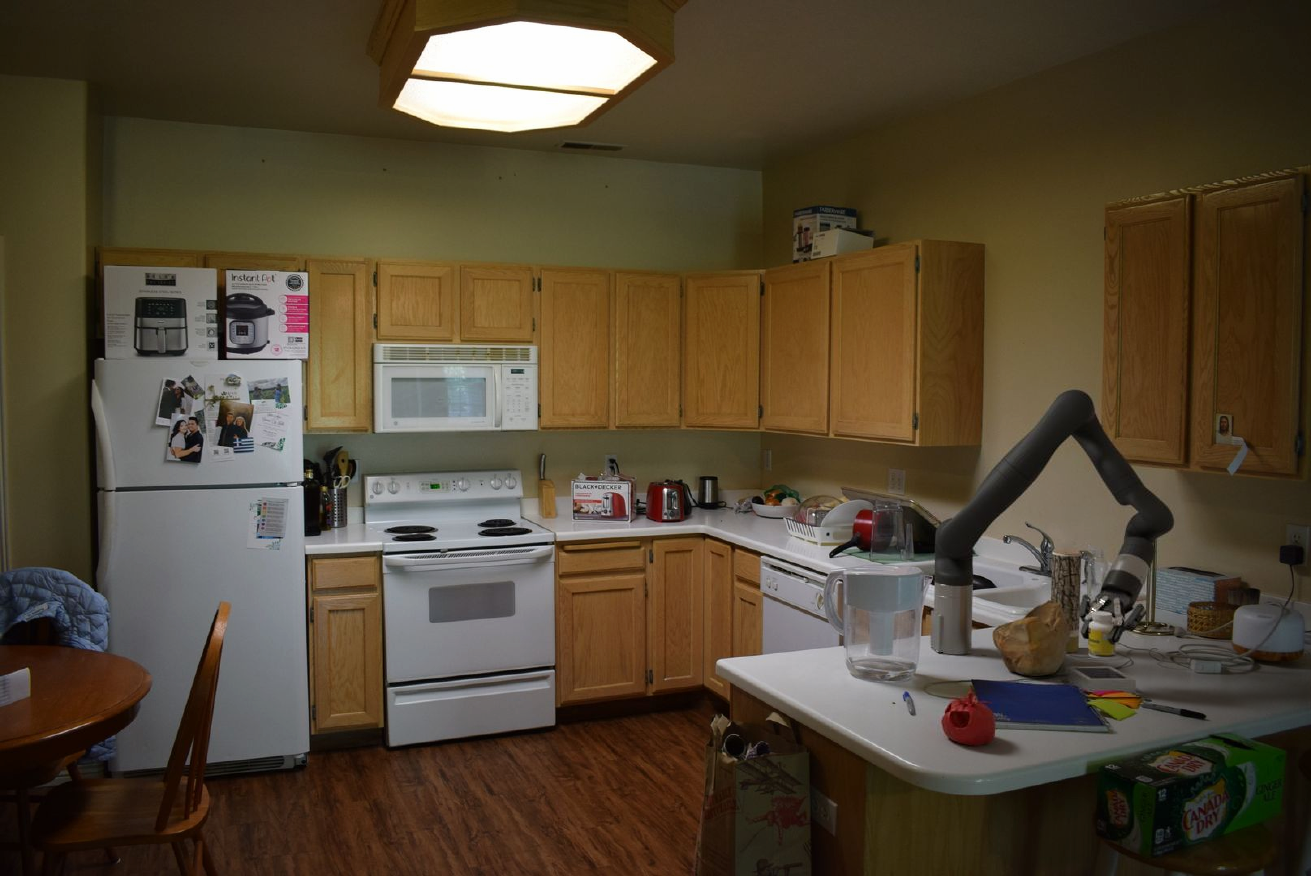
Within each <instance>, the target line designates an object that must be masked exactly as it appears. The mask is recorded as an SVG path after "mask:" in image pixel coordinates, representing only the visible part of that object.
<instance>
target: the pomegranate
mask: <svg viewBox="0 0 1311 876" xmlns="http://www.w3.org/2000/svg"><path fill="white" fill-rule="evenodd" d="M960 697H962V698H963V699H961V698H959V697H957V696H956V697H954V696H953V697H951V699H954V700H952V701H950V702H949V704H947V706H946V708H945V709H944V715H943V716H942V717H941V721H940V723H941V727H942V730H943V733H944V735H945V736H946V737H948V739H950V740H952V741H954V742H956V743H958V744H961V745H962V744H963V745H967V746H974V747H975V746H977V745H979V746H981V745H986V744H990V743H991V742H992V741H993V740H994V739H995V736H996V715H995V714H994V712H993V711H992V709H991V708H989V707H988V706H987V705H986V704H993V703H994V702H989V701H986V700H984V701H983V700H982V701H975V699H976V698H979V697H978V696H977V695H976V694H975V695H974V691H972V690H969V691H968V692H967V697H966V696H965V695H964V694H961V695H960ZM984 703H986V704H984ZM980 744H981V745H980ZM977 747H978V746H977Z"/></svg>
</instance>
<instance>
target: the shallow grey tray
mask: <svg viewBox="0 0 1311 876" xmlns="http://www.w3.org/2000/svg"><path fill="white" fill-rule="evenodd" d="M1064 677H1065V678H1060V680H1059V682H1060V683H1062V684H1063V685H1065V686H1067V685H1071V686H1077V687H1079V688H1081V689H1083V690H1086V691H1088V692H1095V691H1108V690H1109V691H1111V690H1114V691H1124V692H1127V693H1131V694H1133V695H1136V696H1139V697H1141V698H1142V694H1141V693H1139V692H1137V690H1136V689H1137V687H1136V686H1137V679H1135V678H1133V677H1131V676H1130V675H1128V674H1126V673H1124V672H1122V671H1120V670H1118V669H1116V668H1114V667H1113V666H1110V665H1109V666H1107V665H1106V666H1104V665H1103V666H1102V665H1101V666H1065V676H1064Z"/></svg>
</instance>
